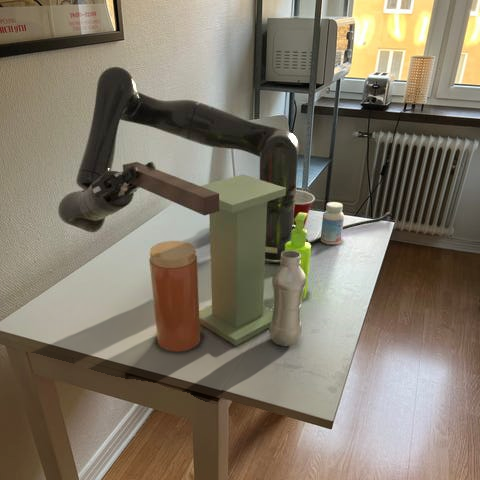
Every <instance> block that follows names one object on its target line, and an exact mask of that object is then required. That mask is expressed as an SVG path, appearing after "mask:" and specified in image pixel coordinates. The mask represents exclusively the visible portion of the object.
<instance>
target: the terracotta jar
mask: <svg viewBox="0 0 480 480" xmlns="http://www.w3.org/2000/svg"><path fill="white" fill-rule="evenodd" d="M196 251H197V250H196V246H195V245H194V244H191V243H190V242H187V241H183V240H167V241H161V242H159V243H156V244H154V245H153V246H152V247H151V248H150V249H149V259H148V260H149V269H150V271H149V272H150V279H151V290H152V299H153V308H154V319H155V330H156V338H157V343H158V345H159V346H160V347H161V348H162V349H164V350H166V351H170V352H186V351H188V350H191V349H194V348H195V347H196V346H197V345H199V344H200V342H201V324H200V315H199V311H200V299H199V298H200V297H199V295H200V294H199V273H198V272H199V271H198V256H197V253H196Z"/></svg>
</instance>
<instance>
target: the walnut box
mask: <svg viewBox="0 0 480 480" xmlns="http://www.w3.org/2000/svg"><path fill="white" fill-rule="evenodd" d="M131 166H136V169H137V172H138V174H139V177H138V178H137V179H136V180H134V181H133V182H131V184H133V185H136V186H138V187H140V188H139V189H142V190H145V191H147V192H150V193H152V194H153V195H157V196H159V197H161V198H163V199H165V200H167V201H170V202H173V203H175V204H177V205H179V206H182V207H183V208H186V209H189V210H191V211H194V212H195V213H197V214H200V215H201V216H202V215H203V216H208V215H209V214H211V213H215V212H218V211H219V193H217V192H214V191H211V190H209V189H206V188H204V187H201V186H202V185H198V184H196V183H193V182H190V181H188V180H185V179H182V178H180V177H177V176H175V175H172V174H170V173H167V172H164V171H162V170H159V169H157V168H156V169H154V168H151V167H149V166H146V164H144V163H141V162H138V161H134V162H129V163H123V164H122V172H124V171H126V170H127V169H128V168H129V167H131Z"/></svg>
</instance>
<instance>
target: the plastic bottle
mask: <svg viewBox="0 0 480 480" xmlns="http://www.w3.org/2000/svg"><path fill="white" fill-rule="evenodd" d="M300 258H301V255H300V253H299V252H297V251H293V250H287V251H283V252H282V253H281V259H280V263H279V264H280V266H278V267H277V269H276V270H275V271H274V272H273V273H274V274H273V276H272V290H273V310H272V311H273V315H272V320H271V323H270V328H268V332H269V338H270V340H271V341H272V342H273V343H274V344H276V345H279V346H282V347H289V346H293V345H295V344H297V342H298V341H299V340H300V338H301V335H302V323H301V309H302V301H303V300H302V296H303V292H304V289H305V285H306V276H305V273H304V272H303V270H302V269H301V267H300V266H299V265H300V264H301V260H300Z"/></svg>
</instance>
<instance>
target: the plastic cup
mask: <svg viewBox="0 0 480 480" xmlns="http://www.w3.org/2000/svg"><path fill="white" fill-rule="evenodd" d="M315 200H316V198H315V195H313V194H312V193H310V192H308V191H305V190H300V189H296V193H295V206H294V221H293V224H294V225H295V226H296V222H295V218H296V216H297V214H298V213H299V212H302V213H308V215H307V216H306V218H305V220H304V224H303V229H304V230H305V227H306V223H307V220H308V217H309V213H310V209H311V207H312V204H313V202H314V201H315Z"/></svg>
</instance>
